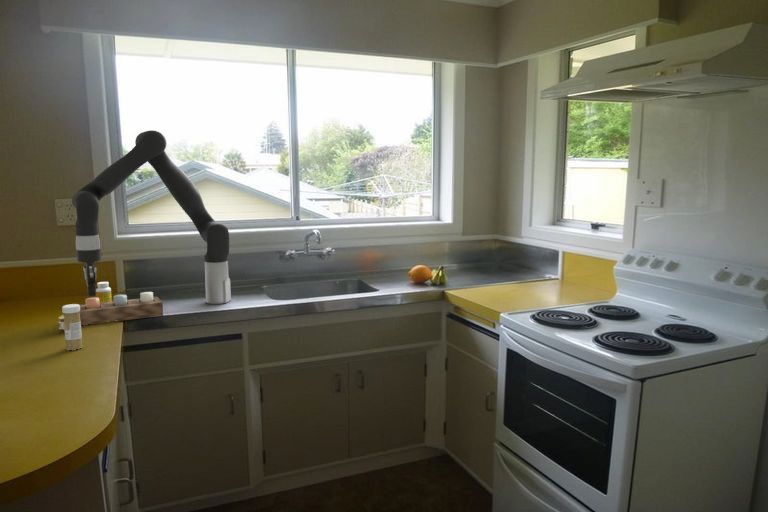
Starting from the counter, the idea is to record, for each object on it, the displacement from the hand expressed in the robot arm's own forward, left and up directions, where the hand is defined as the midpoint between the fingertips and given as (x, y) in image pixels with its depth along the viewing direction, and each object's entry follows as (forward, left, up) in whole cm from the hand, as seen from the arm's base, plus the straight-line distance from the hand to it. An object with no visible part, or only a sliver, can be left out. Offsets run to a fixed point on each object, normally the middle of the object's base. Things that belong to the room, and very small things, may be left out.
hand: (91, 295), depth 186 cm
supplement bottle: (+8, -20, -9) cm, 24 cm away
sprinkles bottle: (-12, +31, -9) cm, 35 cm away
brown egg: (0, 0, -6) cm, 6 cm away
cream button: (-15, -10, -6) cm, 19 cm away
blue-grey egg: (-7, -5, -6) cm, 11 cm away
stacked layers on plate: (0, +13, -10) cm, 16 cm away
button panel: (-7, -5, -9) cm, 13 cm away
